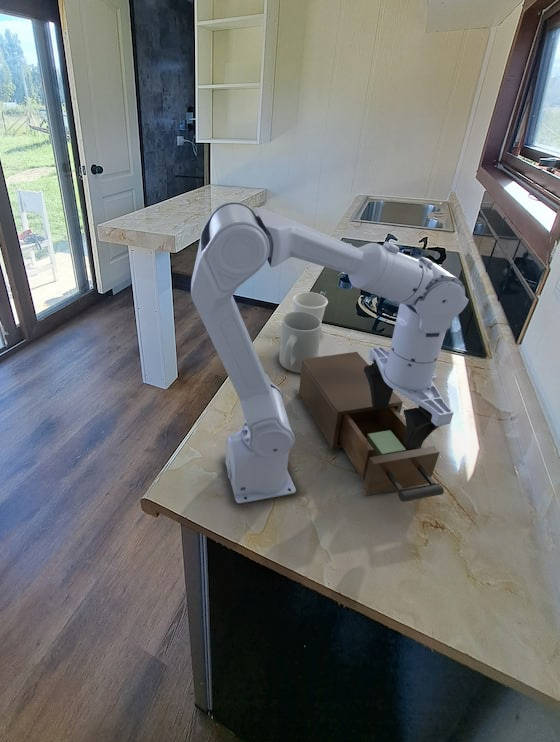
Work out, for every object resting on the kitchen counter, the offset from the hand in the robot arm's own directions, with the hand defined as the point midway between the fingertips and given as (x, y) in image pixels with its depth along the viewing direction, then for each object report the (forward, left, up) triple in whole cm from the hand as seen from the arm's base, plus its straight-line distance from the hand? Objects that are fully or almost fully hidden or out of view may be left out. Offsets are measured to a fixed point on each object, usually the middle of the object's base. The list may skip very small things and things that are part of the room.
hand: (394, 425), depth 57 cm
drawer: (0, +1, -9) cm, 9 cm away
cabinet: (0, +13, -10) cm, 17 cm away
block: (0, +1, -8) cm, 8 cm away
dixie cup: (+5, +41, -10) cm, 43 cm away
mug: (-3, +29, -10) cm, 31 cm away
